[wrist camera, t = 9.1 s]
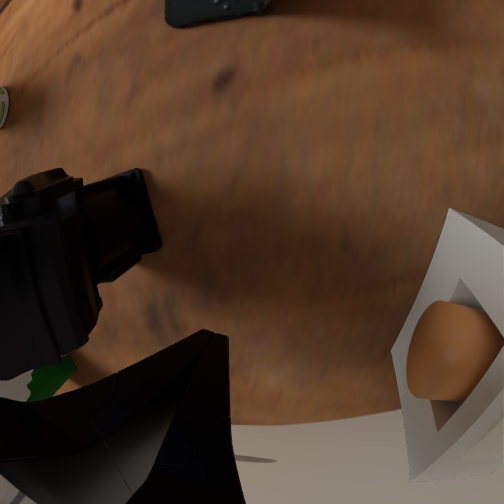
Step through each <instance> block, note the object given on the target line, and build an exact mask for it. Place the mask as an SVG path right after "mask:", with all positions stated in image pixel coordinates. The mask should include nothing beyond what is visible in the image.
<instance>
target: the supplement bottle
mask: <svg viewBox="0 0 504 504" xmlns="http://www.w3.org/2000/svg"><path fill="white" fill-rule="evenodd" d="M8 106H9V98H8V93H7V91H6V89H5V88H3V87H0V128H1V127H2V126H3V124H4V122H5V119H6V116H7V113H8Z"/></svg>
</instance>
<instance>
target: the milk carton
mask: <svg viewBox="0 0 504 504" xmlns="http://www.w3.org/2000/svg"><path fill="white" fill-rule="evenodd" d="M61 358H62V361H63V363H62V364H61V365H57V366H44V367H41V368H37V369H33V370H30V371H28V372H26V373H23V374H21V375H19V376H17V377H15V378H13V379H11V380H9V381H0V397H4V398H8V399H12V400H17V401H22V402H34V401H40V400H44V399H47V398H50V397H53V395H54V394H55V393H56V392H57V391H58V390H59V389H60V387H61V386H62V385H63V384H64V383H65V382H66V380H67V379H68V378H69V377H70V376H71V375H72V374H73V372H74V371H75V370H76V369H77V368H76V367H75V365H74V364H73V363H72V361H71V360H70V358H69V357H68V355H67V356H64V357H61Z"/></svg>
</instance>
